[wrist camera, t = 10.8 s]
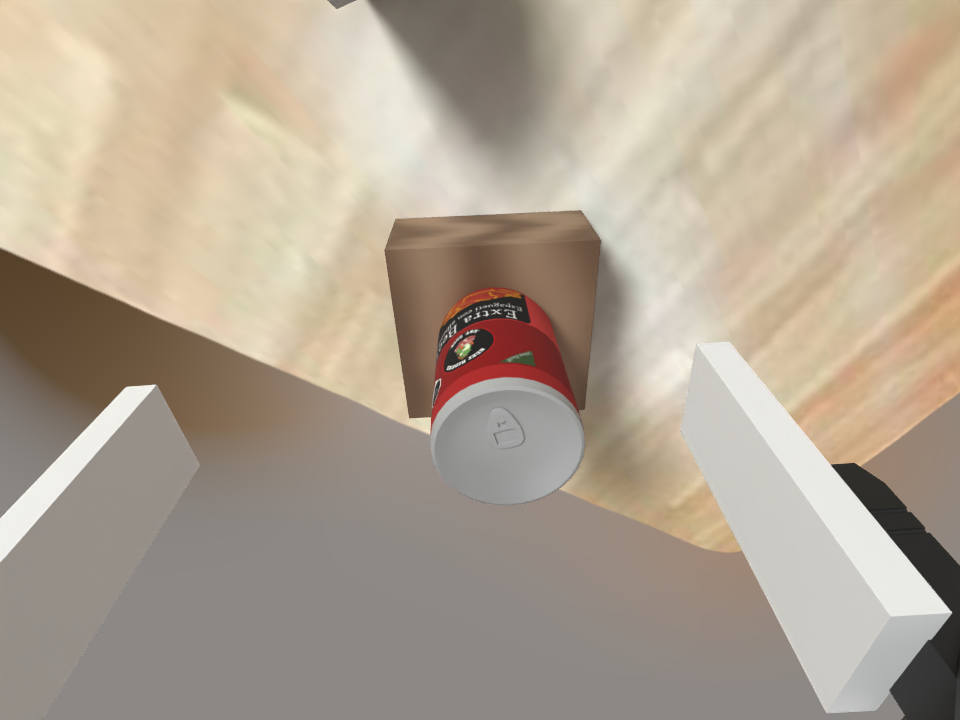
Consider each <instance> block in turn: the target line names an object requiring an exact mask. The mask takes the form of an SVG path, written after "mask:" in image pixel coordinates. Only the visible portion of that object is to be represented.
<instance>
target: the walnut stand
mask: <svg viewBox="0 0 960 720" xmlns="http://www.w3.org/2000/svg"><path fill="white" fill-rule="evenodd" d="M600 243H601V240H600V238H599V237H598V235H597V234H596V232H595V231H594V229H593V228H592V226H591V225H590V223H589V222H588V220H587V219H586V217H585V216H584V214H583V213H582V211H560V212H539V213H518V214H496V215H475V216H454V217H432V218H411V219H395V222H394V225H393V228H392V231H391V233H390V236H389V239H388V242H387V245H386V248H385V256H386V263H387V270H388V277H389V284H390V290H391V297H392V304H393V311H394V318H395V324H396V331H397V338H398V345H399V352H400V358H401V365H402V372H403V379H404V386H405V392H406V399H407V406H408V413H409V418H423V417H431V415H432V403H433V392H434V380H435V368H436V356H437V345H438V336H439V331H440V327H441V324H442V322H443V320H444V318H445V316H446V315H447V314H448V312H449V311H450V309H451V308H452V307H453V306H454V305H455V304H456V303H457V302H458V301H459V300H460V299H461V298H463V297H465V296H466V295H468V294H470V293H472V292H475V291H477V290H480V289H485V288H491V287H499V288H507V289H512V290H515V291H517V292H520V293H522V294H524V295H526V296H527V297H529V298H530V299H531V300H533V301H534V302H536V303H537V304H538V305H539V306H540V307H541V308H542V310H543V311H544V312H545V313H546V315H547V317H548V318H549V320H550V323H551V325H552V328H553V331H554V335H555V338H556V341H557V344H558V347H559V350H560V353H561V357H562V360H563V363H564V366H565V369H566V372H567V375H568V378H569V382H570V385H571V388H572V391H573V394H574V397H575V400H576V404H577V407H578V410H585V399H586V389H587V378H588V368H589V358H590V347H591V337H592V326H593V316H594V306H595V295H596V285H597V274H598V264H599V253H600Z"/></svg>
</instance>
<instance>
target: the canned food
mask: <svg viewBox="0 0 960 720" xmlns="http://www.w3.org/2000/svg"><path fill="white" fill-rule="evenodd" d="M430 440H431V455H432V458H433V462H434V465H435V468H436V469H437V471H438V473H439V474H440V476H441V477H442V479H443V480H444V481H445V482H446V483H447V484H448V485H449V486H450V487H451V488H453V489H454V490H456V491H457V492H458V493H460V494H462V495H464V496H466V497H468V498H470V499H473V500H476V501H479V502H482V503H488V504H494V505H516V504H524V503H528V502H531V501H535V500H539V499H541V498H543V497H545V496H547V495H550V494H551V493H553V492H554V491H556V490H558V489H559V488H561V487H562V486H563V485H564V484H565V483H566V482H567V481H569V480H570V479H571V478H572V476H573V475H574V473H575V472H576V471H577V469H578V468H579V465H580V463H581V461H582V458H583V454H584V449H585V439H584V432H583V424H582V421H581V418H580V414H579V410H578V407H577V404H576V400H575V397H574V394H573V391H572V388H571V385H570V382H569V378H568V375H567V372H566V369H565V366H564V363H563V360H562V357H561V353H560V350H559V347H558V344H557V341H556V338H555V335H554V331H553V328H552V325H551V323H550V320H549V318H548V317H547V315H546V313H545V312H544V311H543V310H542V308H541V307H540V306H539V305H538V304H537V303H536V302H534V301H533V300H531V299H530V298H529V297H527V296H526V295H524V294H522V293H520V292H517V291H515V290H512V289H507V288H499V287H491V288H485V289H480V290H477V291H475V292H472V293H470V294H468V295H466V296H465V297H463V298H461V299H460V300H459V301H458V302H457V303H456V304H455V305H454V306H453V307H452V308H451V309H450V311H449V312H448V314H447V315H446V316H445V318H444V320H443V322H442V324H441V327H440V331H439V336H438V345H437V356H436V368H435V380H434V392H433V403H432V415H431V433H430Z"/></svg>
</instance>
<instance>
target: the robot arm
mask: <svg viewBox="0 0 960 720" xmlns="http://www.w3.org/2000/svg"><path fill="white" fill-rule="evenodd" d="M680 432H681V434H682V436H683V438H684V439H685V441H686V443H687V445H688V447H689V449H690V451H691V453H692V455H693V457H694V459H695V461H696V463H697V465H698V466H699V468H700V470H701V472H702V474H703V476H704V478H705V480H706V482H707V484H708V486H709V488H710V490H711V492H712V493H713V495H714V497H715V499H716V501H717V503H718V505H719V507H720V509H721V511H722V513H723V515H724V517H725V519H726V520H727V522H728V524H729V526H730V528H731V530H732V532H733V534H734V536H735V538H736V540H737V542H738V544H739V545H740V547H741V549H742V551H743V553H744V555H745V557H746V559H747V561H748V563H749V565H750V567H751V568H752V571H753V572H754V574H755V576H756V578H757V580H758V582H759V584H760V586H761V588H762V590H763V592H764V594H765V596H766V598H767V599H768V601H769V603H770V605H771V607H772V609H773V611H774V613H775V615H776V617H777V619H778V621H779V623H780V625H781V626H782V628H783V630H784V632H785V634H786V636H787V638H788V640H789V642H790V644H791V646H792V647H793V650H794V651H795V653H796V655H797V657H798V659H799V661H800V663H801V665H802V667H803V669H804V671H805V673H806V675H807V677H808V678H809V680H810V682H811V684H812V686H813V688H814V690H815V692H816V694H817V696H818V697H819V700H820V702H821V703H822V705H823V707H824V709H825V711H826V713H836V712H856V711H874V710H877V709H878V707H879V706H880V705H881V703H882V702H883V701H884V700H885V698H886V697H887V696H888V695H889V693H890V692H891V694H892V695H893V697H894V699H895V700H896V702H897V703H898V705H899V706H900V708H901V710H902V711H903V713H904V714H905V716H904V717H903V719H902V720H960V566H959V564H958V563H957V562H956V561H955V560H954V559H953V558H952V557H951V556H950V554H949V553H948V552H947V551H946V550H945V549H944V548H943V547H942V546H941V545H940V543H939V542H938V541H937V540H936V539H935V538H934V537H933V536H932V535H931V534H930V533H927V532H926V531H925V527H924V526H923V525H922V524H921V523H920V521H919V520H918V519H917V518H916V517H915V516H914V515H913V514H912V513H911V512H907V509H906V508H907V507H906V506H905V505H904V504H903V503H902V502H901V501H900V499H899V498H898V497H897V496H896V495H895V494H894V493H893V492H892V491H891V490H890V488H889V487H888V486H887V485H886V484H885V483H884V482H882V481H881V480H879V479H878V478H876V477H875V476H873V475H872V474H870V473H869V472H867V471H866V470H864V469H863V468H861V467H860V466H858V465H857V464H855V463H847V464H833V465H830V464H829V462H828V461H827V460H826V459H825V458H824V456H823V455H822V454H821V453H820V451H819V450H818V449H817V448H816V447H815V445H814V444H813V443H812V442H811V441H810V439H809V438H808V437H807V436H806V434H805V433H804V432H803V431H802V430H801V428H800V427H799V426H798V425H797V424H796V422H795V421H794V420H793V419H792V417H791V416H790V415H789V414H788V413H787V411H786V410H785V409H784V408H783V406H782V405H781V404H780V403H779V402H778V400H777V399H776V398H775V397H774V396H773V394H772V393H771V392H770V391H769V389H768V388H767V387H766V386H765V385H764V383H763V382H762V381H761V380H760V379H759V377H758V376H757V375H756V374H755V372H754V371H753V370H752V369H751V368H750V366H749V365H748V364H747V363H746V362H745V360H744V359H743V358H742V357H741V355H740V354H739V353H738V352H737V351H736V349H735V348H734V347H733V346H732V344H731V343H730V342H716V343H703V344H696V349H695V354H694V360H693V365H692V371H691V376H690V382H689V387H688V393H687V398H686V403H685V409H684V414H683V420H682V425H681V431H680ZM199 466H200V464H199V463H198V461H197V459H196V457H195V455H194V453H193V451H192V449H191V448H190V446H189V444H188V443H187V440H186V438H185V436H184V435H183V433H182V431H181V429H180V427H179V425H178V424H177V422H176V420H175V418H174V416H173V414H172V412H171V410H170V409H169V407H168V405H167V403H166V401H165V399H164V397H163V396H162V394H161V392H160V390H159V388H158V386H157V385H147V386H133V387H126V388H125V389H124V390H123V391H122V392H121V393H120V394H119V395H118V396H117V397H116V398H115V399H114V400H113V402H112V403H111V404H110V405H109V406H108V407H107V408H106V409H105V410H104V411H103V412H102V413H101V414H100V415H99V416H98V417H97V418H96V419H95V420H94V421H93V423H92V424H90V425H89V426H88V428H87V429H86V430H85V431H84V432H83V433H82V434H81V435H80V436H79V437H78V438H77V439H76V440H75V441H74V442H73V443H72V444H71V445H70V446H69V448H67V450H65V452H64V453H63V454H62V455H61V456H60V457H59V458H58V459H57V460H56V461H55V462H54V463H53V464H52V465H51V466H50V467H49V468H48V469H47V471H45V472H44V474H43V475H42V476H41V477H40V478H39V479H38V480H37V481H36V482H35V483H34V484H33V485H32V486H31V487H30V488H29V489H28V490H27V491H26V492H25V493H24V494H23V495H22V496H21V498H20V499H19V500H18V501H17V502H16V503H15V504H14V505H13V506H12V507H11V508H10V509H9V510H8V511H7V512H6V513H5V514H4V515H3V516H2V517H1V518H0V720H43V718H44V716H45V715H46V713H47V711H48V710H49V708H50V707H51V705H52V703H53V702H54V700H55V699H56V697H57V695H58V694H59V692H60V690H61V689H62V687H63V686H64V684H65V682H66V681H67V679H68V677H69V676H70V674H71V673H72V671H73V670H74V668H75V666H76V665H77V663H78V661H79V660H80V658H81V657H82V655H83V653H84V652H85V650H86V649H87V647H88V645H89V644H90V642H91V640H92V639H93V637H94V636H95V634H96V632H97V631H98V629H99V627H100V626H101V624H102V623H103V621H104V619H105V618H106V616H107V615H108V613H109V611H110V610H111V608H112V606H113V605H114V603H115V602H116V600H117V598H118V597H119V595H120V593H121V592H122V590H123V589H124V587H125V585H126V584H127V582H128V581H129V579H130V577H131V576H132V574H133V572H134V571H135V569H136V568H137V566H138V564H139V563H140V561H141V560H142V558H143V556H144V555H145V553H146V552H147V550H148V548H149V547H150V545H151V543H152V542H153V540H154V539H155V537H156V535H157V534H158V532H159V531H160V529H161V527H162V526H163V524H164V522H165V521H166V519H167V517H168V516H169V514H170V513H171V511H172V510H173V508H174V506H175V505H176V503H177V501H178V500H179V498H180V497H181V495H182V493H183V492H184V490H185V488H186V487H187V485H188V484H189V482H190V480H191V479H192V477H193V475H194V474H195V472H196V471H197V469H198V468H199Z"/></svg>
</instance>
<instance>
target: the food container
mask: <svg viewBox="0 0 960 720" xmlns="http://www.w3.org/2000/svg"><path fill="white" fill-rule="evenodd" d="M328 1H329V2H330V3H331V4H332V5H333V6H334V7H335V8H336V9H338V8H340V7H342V6H345V5H347V4H349V3H351V2H353V1H356V0H328Z"/></svg>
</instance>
